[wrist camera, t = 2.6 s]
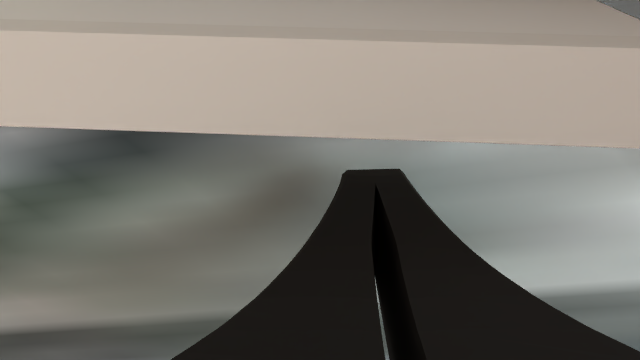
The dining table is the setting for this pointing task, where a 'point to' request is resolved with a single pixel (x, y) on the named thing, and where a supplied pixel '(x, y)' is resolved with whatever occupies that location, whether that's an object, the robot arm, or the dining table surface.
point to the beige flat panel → (327, 69)
